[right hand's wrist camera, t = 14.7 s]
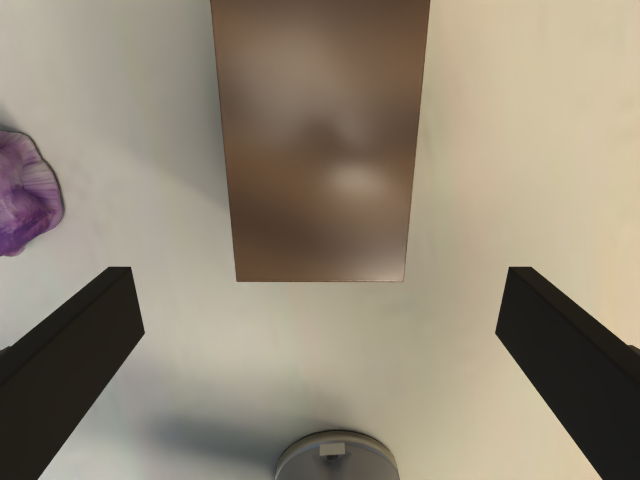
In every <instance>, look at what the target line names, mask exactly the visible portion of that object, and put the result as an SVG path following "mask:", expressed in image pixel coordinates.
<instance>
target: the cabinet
mask: <svg viewBox="0 0 640 480" xmlns="http://www.w3.org/2000/svg"><path fill="white" fill-rule="evenodd" d="M210 3H211V13H212V24H213V35H214V45H215V56H216V67H217V77H218V88H219V99H220V110H221V120H222V131H223V142H224V152H225V163H226V174H227V184H228V195H229V206H230V217H231V227H232V238H233V249H234V259H235V270H236V281H237V282H403V281H404V271H405V260H406V250H407V239H408V229H409V218H410V208H411V198H412V187H413V177H414V166H415V156H416V145H417V135H418V124H419V114H420V103H421V93H422V82H423V72H424V61H425V51H426V40H427V30H428V19H429V9H430V0H210Z"/></svg>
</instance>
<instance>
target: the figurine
mask: <svg viewBox="0 0 640 480" xmlns="http://www.w3.org/2000/svg"><path fill="white" fill-rule="evenodd" d="M62 214H63V207H62V203H61V198H60V193H59V189H58V185H57V182H56V180H55V177H54V173H53V172H52V171H51V170H50V168H49V167H48V166H47V165H46V163H45V162H44V161H43V160H42V159H41V157H40V155H39V154H38V153H37V150H36V148H35V145H34V144H33V143H32V141H31V140H30V138H29V137H28V136H26V135H23V134H22V133H16V132H15V133H13V132H11V133H10V132H6V131H5V132H4V131H0V256H7V257H13V256H17V255H19V254H21V253H22V252H23V251H24V249H25V247H26V244H27V242H29V241H30V240H32V239H33V238H35V237H37V236H38V235H40V234H42V233H45V232H47V231H49V230H51V229H53V228H54V227H56V226H57V225H58V224H59V222H60V220H61V218H62Z"/></svg>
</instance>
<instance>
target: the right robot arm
mask: <svg viewBox="0 0 640 480" xmlns="http://www.w3.org/2000/svg"><path fill="white" fill-rule="evenodd" d="M144 334H145V331H144V326H143V322H142V317H141V312H140V308H139V303H138V298H137V293H136V289H135V284H134V279H133V274H132V270H131V267H108V268H107V269H105V270H104V271H103V272H102V273H101V274H99V275H98V276H97V277H96V278H94V279H93V280H92V281H91V282H90V283H88V284H87V285H86V286H85V287H83V288H82V289H81V290H80V291H79V292H77V293H76V294H75V295H74V296H72V297H71V298H70V299H69V300H67V301H66V302H65V303H64V304H63V305H61V306H60V307H59V308H58V309H56V310H55V311H54V312H53V313H52V314H50V315H49V316H48V317H47V318H45V319H44V320H43V321H42V322H41V323H39V324H38V325H37V326H36V327H34V328H33V329H32V330H31V331H29V332H28V333H27V334H26V335H25V336H23V337H22V338H21V339H20V340H18V341H17V342H16V343H15V344H14V345H12V346H8V347H6V348H5V349H3V350H1V351H0V480H38V478H39V477H40V475H41V474H42V473H43V471H44V470H45V469H46V467H47V466H48V465H49V463H50V462H51V460H52V459H53V458H54V456H55V455H56V454H57V452H58V451H59V450H60V448H61V447H62V445H63V444H64V443H65V441H66V440H67V439H68V437H69V436H70V435H71V433H72V432H73V430H74V429H75V428H76V426H77V425H78V424H79V422H80V421H81V420H82V418H83V417H84V416H85V414H86V413H87V411H88V410H89V409H90V407H91V406H92V405H93V403H94V402H95V401H96V399H97V398H98V396H99V395H100V394H101V392H102V391H103V390H104V388H105V387H106V386H107V384H108V383H109V381H110V380H111V379H112V377H113V376H114V375H115V373H116V372H117V371H118V369H119V368H120V366H121V365H122V364H123V362H124V361H125V360H126V358H127V357H128V356H129V354H130V353H131V351H132V350H133V349H134V347H135V346H136V345H137V343H138V342H139V341H140V339H141V338H142V336H143V335H144ZM495 334H496V335H497V336H498V338H499V339H500V341H501V342H502V343H503V345H504V346H505V347H506V349H507V350H508V351H509V353H510V354H511V356H512V357H513V358H514V360H515V361H516V362H517V364H518V365H519V366H520V368H521V369H522V371H523V372H524V373H525V375H526V376H527V377H528V379H529V380H530V381H531V383H532V384H533V386H534V387H535V388H536V390H537V391H538V392H539V394H540V395H541V396H542V398H543V399H544V401H545V402H546V403H547V405H548V406H549V407H550V409H551V410H552V411H553V413H554V414H555V416H556V417H557V418H558V420H559V421H560V422H561V424H562V425H563V426H564V428H565V429H566V430H567V432H568V433H569V435H570V436H571V437H572V439H573V440H574V441H575V443H576V444H577V445H578V447H579V448H580V450H581V451H582V452H583V454H584V455H585V456H586V458H587V459H588V460H589V462H590V463H591V465H592V466H593V467H594V469H595V470H596V471H597V473H598V474H599V475H600V477H601V478H602V480H640V349H638V348H636V347H635V346H633V345H626V344H625V343H624V342H623V341H622V340H620V339H619V338H618V337H617V336H615V335H614V334H613V333H612V332H611V331H609V330H608V329H607V328H606V327H604V326H603V325H602V324H601V323H599V322H598V321H597V320H596V319H595V318H593V317H592V316H591V315H590V314H588V313H587V312H586V311H585V310H584V309H582V308H581V307H580V306H579V305H577V304H576V303H575V302H574V301H573V300H571V299H570V298H569V297H568V296H566V295H565V294H564V293H563V292H561V291H560V290H559V289H558V288H557V287H555V286H554V285H553V284H552V283H550V282H549V281H548V280H547V279H546V278H544V277H543V276H542V275H541V274H539V273H538V272H537V271H536V270H535V269H533V268H532V267H509V270H508V274H507V279H506V284H505V289H504V293H503V298H502V303H501V308H500V312H499V317H498V322H497V326H496V331H495ZM275 480H400V479H399V474H398V469H397V465H396V462H395V459H394V457H393V456H392V454H391V453H390V452H389V450H388V449H387V448H386V447H384V446H383V445H382V444H381V443H379V442H378V441H376V440H374V439H372V438H370V437H368V436H365V435H362V434H358V433H353V432H346V431H329V432H322V433H317V434H314V435H310V436H308V437H305V438H303V439H301V440H299V441H297V442H296V443H294V444H293V445H291V446H290V447H289V448H288V449H287V450H286V451H285V452H284V453H283V455H282V456H281V458H280V459H279V462H278V464H277V468H276V475H275Z"/></svg>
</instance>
